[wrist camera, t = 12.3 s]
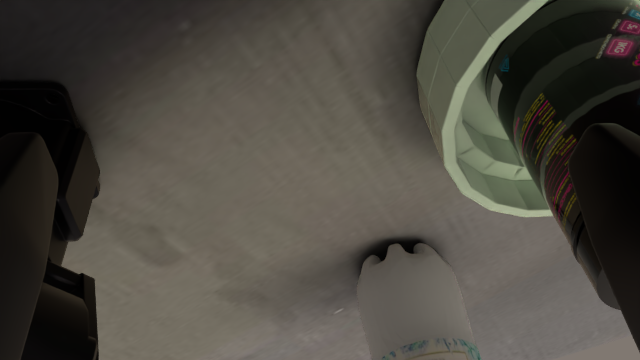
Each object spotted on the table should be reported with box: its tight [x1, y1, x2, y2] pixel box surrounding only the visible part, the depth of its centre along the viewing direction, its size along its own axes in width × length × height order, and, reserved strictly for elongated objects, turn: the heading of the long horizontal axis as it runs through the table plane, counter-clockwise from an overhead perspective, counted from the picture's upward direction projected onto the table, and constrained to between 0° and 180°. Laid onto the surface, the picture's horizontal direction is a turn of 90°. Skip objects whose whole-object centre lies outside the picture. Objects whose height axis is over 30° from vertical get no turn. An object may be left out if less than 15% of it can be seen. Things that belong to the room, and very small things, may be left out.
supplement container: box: [485, 0, 640, 310], centre depth 18 cm, size 7×7×10 cm
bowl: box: [416, 0, 640, 217], centre depth 20 cm, size 13×13×4 cm
